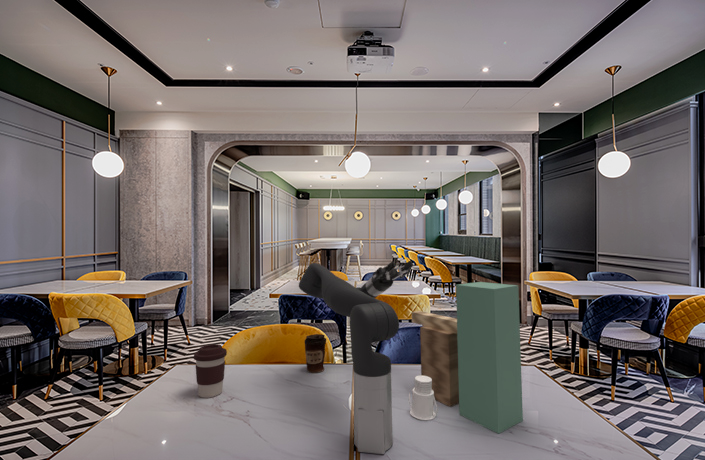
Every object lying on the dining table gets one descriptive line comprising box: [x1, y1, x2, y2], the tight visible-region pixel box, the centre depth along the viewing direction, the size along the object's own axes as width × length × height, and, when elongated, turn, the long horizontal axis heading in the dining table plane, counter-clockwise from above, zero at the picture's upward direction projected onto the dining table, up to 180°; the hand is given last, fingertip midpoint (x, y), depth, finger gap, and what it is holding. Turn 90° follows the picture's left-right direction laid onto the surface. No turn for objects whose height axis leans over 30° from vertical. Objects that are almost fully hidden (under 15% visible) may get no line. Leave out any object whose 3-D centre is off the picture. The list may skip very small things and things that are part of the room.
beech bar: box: [411, 310, 457, 334], centre depth 111 cm, size 19×4×4 cm, turn 34°
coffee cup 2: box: [304, 333, 327, 374], centre depth 133 cm, size 9×8×13 cm
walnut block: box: [419, 325, 459, 408], centre depth 109 cm, size 12×8×21 cm
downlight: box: [408, 374, 438, 421], centre depth 97 cm, size 8×7×10 cm
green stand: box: [455, 281, 524, 434], centre depth 96 cm, size 12×11×36 cm
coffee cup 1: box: [193, 343, 228, 399], centre depth 113 cm, size 10×10×15 cm
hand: (402, 263), depth 125 cm, fingers open, 8 cm apart
